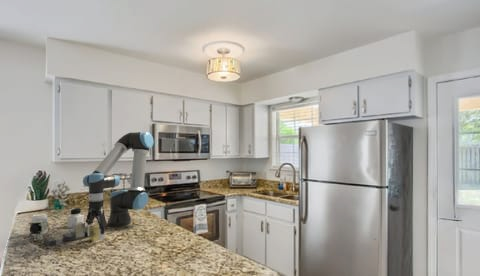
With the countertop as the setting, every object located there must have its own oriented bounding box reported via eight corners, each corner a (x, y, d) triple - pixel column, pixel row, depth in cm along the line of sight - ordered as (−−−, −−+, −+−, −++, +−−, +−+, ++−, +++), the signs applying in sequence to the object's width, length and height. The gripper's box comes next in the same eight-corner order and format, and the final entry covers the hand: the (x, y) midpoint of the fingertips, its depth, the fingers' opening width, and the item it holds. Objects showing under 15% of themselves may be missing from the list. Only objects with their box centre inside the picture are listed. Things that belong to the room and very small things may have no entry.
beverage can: (39, 236, 166) (39, 216, 166) (27, 236, 167) (28, 216, 168) (50, 232, 174) (51, 213, 174) (40, 232, 175) (40, 213, 176)
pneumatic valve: (29, 243, 153) (29, 221, 154) (38, 237, 164) (38, 217, 165) (40, 242, 155) (40, 221, 155) (48, 236, 166) (49, 216, 166)
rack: (85, 233, 170) (85, 229, 170) (92, 236, 164) (92, 231, 165) (43, 243, 152) (43, 238, 153) (50, 247, 147) (50, 241, 147)
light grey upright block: (81, 235, 166) (81, 221, 166) (84, 236, 163) (84, 223, 163) (72, 237, 162) (72, 223, 162) (75, 239, 159) (75, 224, 159)
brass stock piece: (98, 238, 161) (98, 224, 162) (102, 239, 158) (102, 225, 159) (89, 240, 157) (89, 226, 158) (93, 242, 154) (93, 227, 155)
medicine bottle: (83, 225, 191) (83, 207, 192) (76, 227, 184) (76, 209, 185) (74, 224, 192) (74, 207, 192) (66, 227, 185) (67, 209, 185)
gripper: (79, 199, 163) (79, 235, 162) (100, 203, 148) (99, 243, 147) (92, 197, 169) (92, 232, 168) (113, 201, 154) (113, 239, 153)
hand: (95, 237), depth 158 cm, fingers open, 13 cm apart
